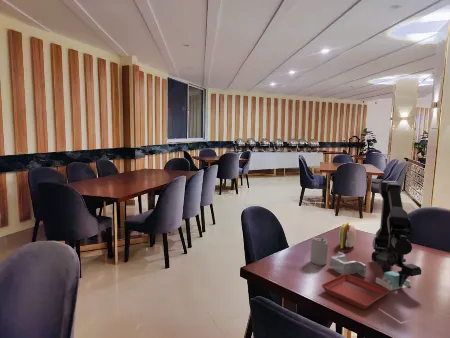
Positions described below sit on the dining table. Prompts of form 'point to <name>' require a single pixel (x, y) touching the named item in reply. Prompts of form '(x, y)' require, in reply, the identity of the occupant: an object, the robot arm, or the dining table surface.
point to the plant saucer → (353, 291)
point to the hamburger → (347, 235)
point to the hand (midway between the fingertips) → (393, 282)
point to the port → (347, 265)
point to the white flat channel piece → (389, 286)
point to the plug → (392, 278)
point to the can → (319, 250)
